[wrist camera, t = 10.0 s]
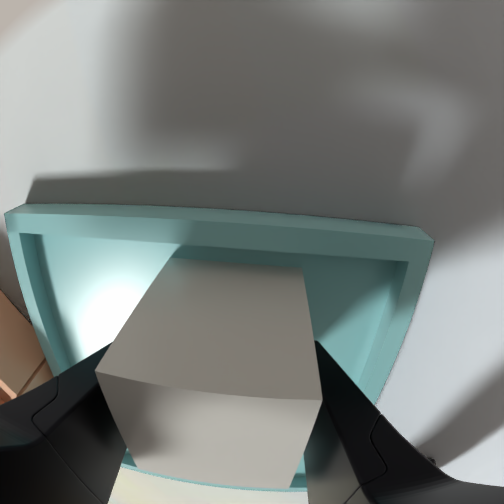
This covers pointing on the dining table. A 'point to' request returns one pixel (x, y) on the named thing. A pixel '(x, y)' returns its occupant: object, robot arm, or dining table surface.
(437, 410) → the dining table surface
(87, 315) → the tray
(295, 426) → the grey cardboard cube
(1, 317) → the bowl
